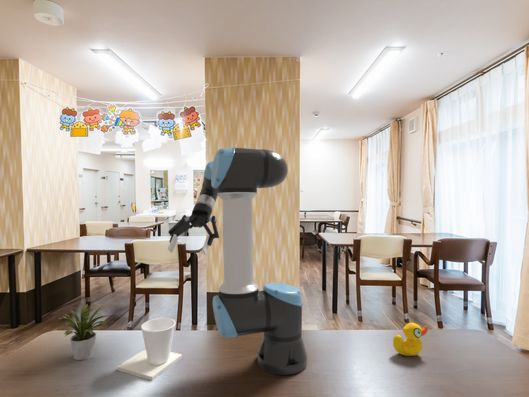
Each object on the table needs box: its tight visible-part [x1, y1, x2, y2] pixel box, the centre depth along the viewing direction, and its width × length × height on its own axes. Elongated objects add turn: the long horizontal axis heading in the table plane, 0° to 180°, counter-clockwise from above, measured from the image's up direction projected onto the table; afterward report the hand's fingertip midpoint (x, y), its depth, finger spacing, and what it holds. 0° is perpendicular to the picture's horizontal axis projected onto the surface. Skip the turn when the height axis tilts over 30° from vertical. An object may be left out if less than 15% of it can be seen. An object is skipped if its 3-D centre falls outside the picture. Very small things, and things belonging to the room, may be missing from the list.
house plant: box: [59, 303, 111, 361], centre depth 99 cm, size 14×14×16 cm
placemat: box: [116, 348, 183, 381], centre depth 97 cm, size 13×13×1 cm
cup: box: [140, 317, 176, 365], centre depth 96 cm, size 10×10×11 cm
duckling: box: [392, 322, 429, 357], centre depth 102 cm, size 11×5×10 cm, turn 98°
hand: (186, 251), depth 118 cm, fingers open, 13 cm apart
